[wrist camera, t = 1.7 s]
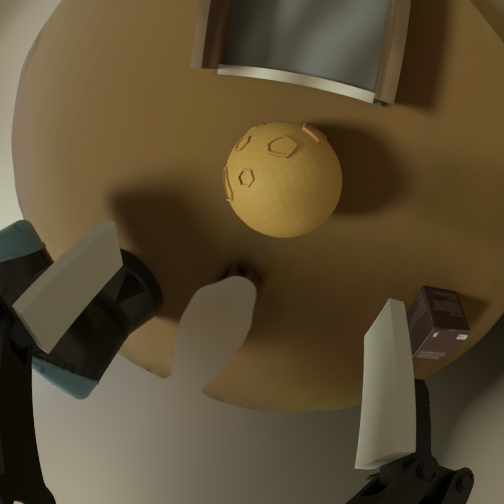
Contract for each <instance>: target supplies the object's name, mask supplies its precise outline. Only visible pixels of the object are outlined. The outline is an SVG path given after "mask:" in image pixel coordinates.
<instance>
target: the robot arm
mask: <svg viewBox="0 0 504 504" xmlns="http://www.w3.org/2000/svg"><path fill="white" fill-rule="evenodd" d="M161 303H162V296H161V292H160V289H159V286H158V284H157V283H156V281H155V279H154V278H153V276H152V275H151V274H150V272H149V271H148V270H147V269H146V268H145V267H144V266H143V265H142V264H141V263H140V262H139V261H138V260H137V259H135V258H134V257H133V256H131V255H130V254H128V253H126V252H124V251H122V250H120V247H119V242H118V236H117V230H116V224H115V222H112V221H108V220H105V219H104V220H103V221H102V222H100V223H99V224H98V225H97V226H96V227H94V228H93V229H92V230H91V231H89V232H88V233H87V234H86V235H85V236H84V237H82V238H81V239H80V240H79V241H78V242H77V243H75V244H74V245H73V246H72V247H71V248H70V249H69V250H67V251H66V252H65V253H64V254H63V255H62V256H61V257H60V258H59V259H58V260H57V261H55V262H54V261H53V260H52V258H51V256H50V254H49V253H48V251H47V249H46V245H45V243H44V242H42V241H41V239H40V237H39V236H38V234H37V232H36V231H35V229H34V227H33V225H32V224H31V223H30V222H29V221H26V220H19V221H17V222H15V223H13V224H11V225H9V226H7V227H6V228H4V229H2V230H1V231H0V504H13V503H14V501H18V502H21V503H23V504H56V502H55V499H54V496H53V495H52V493H51V492H50V491H49V489H48V488H47V487H46V485H45V483H44V480H43V476H42V471H41V467H40V461H39V456H38V450H37V444H36V436H35V428H34V417H33V405H32V369H33V370H35V371H36V372H37V373H38V374H40V375H41V376H43V377H44V378H45V379H46V380H48V381H49V382H50V383H52V384H53V385H55V386H56V387H58V388H59V389H61V390H62V391H64V392H65V393H67V394H69V395H71V396H72V397H74V398H76V399H85V398H87V397H88V396H89V394H90V393H91V391H92V390H93V389H94V388H95V386H96V385H97V384H99V380H100V379H101V377H102V376H103V374H104V372H105V371H106V369H107V368H108V366H109V364H110V363H111V361H112V360H113V358H114V357H115V355H116V354H117V352H118V351H119V349H120V348H121V346H122V345H123V343H124V341H125V340H126V339H127V337H128V336H129V335H130V334H131V333H132V332H133V331H135V330H136V329H138V328H139V327H141V326H142V325H143V324H145V323H146V322H147V321H149V320H151V319H152V318H153V317H154V316H155V314H156V313H157V311H158V310H159V308H160V307H161ZM429 404H430V402H429V391H428V389H427V387H426V384H425V382H424V380H419V379H414V372H413V362H412V353H411V344H410V337H409V330H408V323H407V317H406V311H405V306H404V302H402V301H398V300H394V299H391V298H389V299H388V301H387V302H386V304H385V306H384V307H383V309H382V310H381V312H380V314H379V315H378V317H377V318H376V320H375V321H374V323H373V324H372V326H371V327H370V329H369V330H368V332H367V333H366V335H365V336H364V376H363V396H362V411H361V423H360V432H359V441H358V450H357V457H356V464H355V468H356V469H375V468H377V467H380V472H379V473H376V474H373V475H370V476H369V477H367V478H366V479H367V480H369V479H372V480H371V481H370V482H369V483H368V484H367V485H366V486H365V487H363V488H362V489H361V490H360V491H359V492H358V493H357V494H356V495H355V496H354V497H353V498H351V499H350V500H349V501H348V502H347V503H346V504H466V502H467V500H468V498H469V495H470V493H471V490H472V487H473V483H474V475H473V473H472V471H471V470H470V469H469V468H462V469H459V470H456V471H454V470H451V469H447V468H445V467H442V466H439V465H438V462H437V460H436V459H435V458H434V457H433V456H432V454H431V421H430V416H429V415H430V406H429Z"/></svg>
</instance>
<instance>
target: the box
mask: <svg viewBox="0 0 504 504" xmlns="http://www.w3.org/2000/svg"><path fill="white" fill-rule="evenodd" d="M406 317H407V323H408V330H409V337H410V344H411V352H412V358H419V359H430V360H442V361H447V360H448V359H449V358H450V357H451V356H452V354H453V353H454V352H455V351H456V350H457V348H458V347H459V346H460V345H461V344H462V342H463V341H464V340H465V339H466V337H467V336H468V335H469V333H470V329H469V327H468V323H467V321H466V318H465V315H464V312H463V309H462V307H461V304H460V301H459V299H458V297H457V294H456V293H455V292H450V291H445V290H439V289H434V288H429V287H424V286H423V287H422V289H421V291H420V293H419V295H418V296H417V298H416V300H415V302H414V304H413V306H412V307H411V309H410V311H409V312H408V314H407V316H406Z"/></svg>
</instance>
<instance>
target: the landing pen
mask: <svg viewBox="0 0 504 504" xmlns="http://www.w3.org/2000/svg"><path fill="white" fill-rule="evenodd" d="M410 5H411V0H199V6H198V12H197V19H196V26H195V33H194V40H193V48H192V57H191V66H190V68H205V69H214V72H213V74H224V75H236V76H246V77H255V78H262V79H269V80H276V81H282V82H288V83H293V84H299V85H304V86H309V87H313V88H318V89H322V90H326V91H330V92H334V93H338V94H342V95H346V96H349V97H353V98H356V99H360V100H363V101H366V102H369V103H372V104H376V105H379V106H381V102H382V101H383V102H386V103H389V104H392V105H393V104H394V100H395V96H396V91H397V87H398V82H399V77H400V72H401V67H402V61H403V56H404V50H405V44H406V37H407V30H408V23H409V15H410Z"/></svg>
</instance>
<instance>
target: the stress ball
mask: <svg viewBox="0 0 504 504" xmlns="http://www.w3.org/2000/svg"><path fill="white" fill-rule="evenodd" d="M223 187H224V191H225V196H226V199H227V201H229V202H230V204H231V206H232V208H233V209H234V211H235V213H236V214H237V215H238V216H239V217H240V218H241V220H242V221H243V222H245V223H246V224H247V225H248V226H249V227H251V228H253V229H254V230H256V231H258V232H260V233H262V234H265V235H268V236H272V237H279V238H290V237H297V236H300V235H303V234H306V233H308V232H311V231H313V230H314V229H316V228H317V227H319V226H320V225H322V224H323V223H324V222H325V221H326V220H327V219H328V218H329V217H330V215H331V214H332V212H333V211H334V209H335V208H336V206H337V203H338V201H339V198H340V195H341V190H342V170H341V166H340V163H339V160H338V157H337V155H336V153H335V151H334V150H333V148H332V147H331V145H330V144H329V143H328V142H327V137H326V136H325V135H324V134H323V133H322V132H321V131H319V130H318V129H316V128H314V127H313V126H311V125H309V124H306V123H303V125H301V124H297V123H293V122H273V123H268V124H265V123H262V124H259V125H257V126H255V127H253V128H252V129H250V130H249V131H248V132H247V133H246V135H245V136H243V137H242V138H241V139H240V140H239V142H238V143H237V144H236V145H235V147H234V148H233V150H232V152H231V154H230V156H229V158H228V161H227V165H226V167H225V168H224V171H223Z"/></svg>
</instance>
